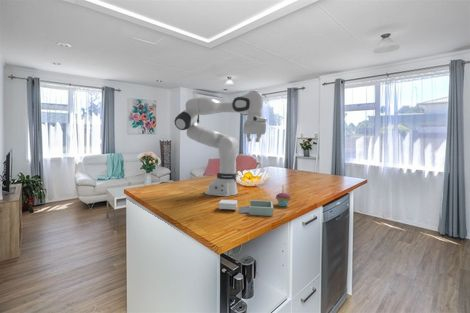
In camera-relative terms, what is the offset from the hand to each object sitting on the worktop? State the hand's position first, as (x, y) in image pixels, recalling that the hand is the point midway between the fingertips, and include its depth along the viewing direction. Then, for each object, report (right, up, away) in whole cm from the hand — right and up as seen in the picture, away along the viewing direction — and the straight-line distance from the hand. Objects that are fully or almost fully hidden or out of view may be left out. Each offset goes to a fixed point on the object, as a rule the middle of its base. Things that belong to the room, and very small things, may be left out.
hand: (252, 141), depth 145 cm
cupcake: (+17, -37, -7) cm, 42 cm away
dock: (0, -39, -19) cm, 43 cm away
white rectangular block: (-15, -37, -17) cm, 44 cm away
